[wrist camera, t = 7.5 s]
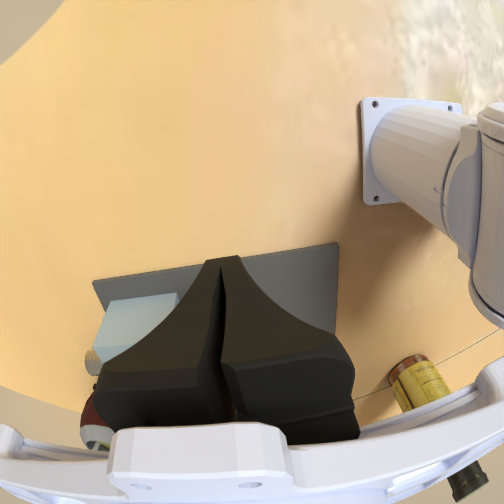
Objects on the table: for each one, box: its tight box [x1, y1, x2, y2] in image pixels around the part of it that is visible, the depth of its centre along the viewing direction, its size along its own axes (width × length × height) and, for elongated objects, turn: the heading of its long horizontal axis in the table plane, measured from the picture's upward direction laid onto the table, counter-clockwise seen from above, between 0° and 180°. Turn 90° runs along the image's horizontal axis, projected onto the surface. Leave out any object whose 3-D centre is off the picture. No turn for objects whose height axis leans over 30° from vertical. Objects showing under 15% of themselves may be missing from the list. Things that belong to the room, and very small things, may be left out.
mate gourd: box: [80, 384, 115, 452], centre depth 24 cm, size 8×8×15 cm
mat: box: [92, 243, 339, 335], centre depth 27 cm, size 20×14×1 cm
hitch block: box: [93, 293, 180, 363], centre depth 24 cm, size 6×10×6 cm, turn 7°
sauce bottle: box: [389, 355, 489, 503], centre depth 25 cm, size 6×6×20 cm
